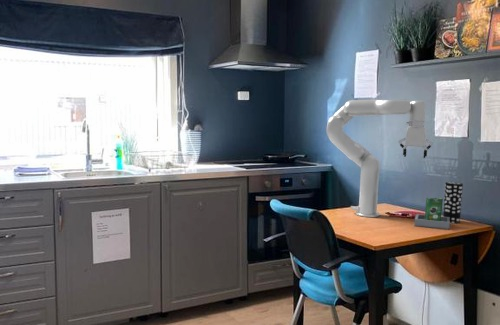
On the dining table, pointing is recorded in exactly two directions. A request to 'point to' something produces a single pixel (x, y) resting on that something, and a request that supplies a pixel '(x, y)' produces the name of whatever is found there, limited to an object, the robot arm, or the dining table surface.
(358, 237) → the dining table surface
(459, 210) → the white-spotted black cylinder
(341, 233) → the dining table surface
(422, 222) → the tray
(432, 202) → the coffee box
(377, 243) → the dining table surface
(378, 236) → the dining table surface
